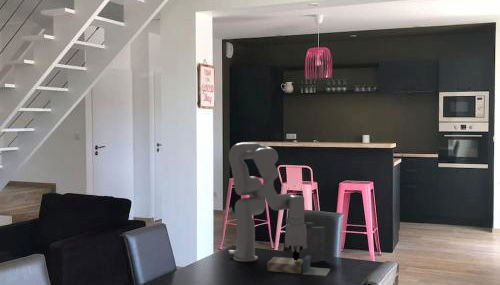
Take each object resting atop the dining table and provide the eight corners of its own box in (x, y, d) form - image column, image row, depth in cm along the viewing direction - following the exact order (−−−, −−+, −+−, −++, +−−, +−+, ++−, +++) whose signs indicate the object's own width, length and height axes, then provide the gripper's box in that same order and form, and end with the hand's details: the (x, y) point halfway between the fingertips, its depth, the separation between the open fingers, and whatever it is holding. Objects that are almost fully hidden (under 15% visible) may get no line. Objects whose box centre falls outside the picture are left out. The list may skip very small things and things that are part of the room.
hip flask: (323, 260, 277) (324, 221, 277) (325, 262, 273) (325, 223, 273) (292, 260, 276) (293, 221, 276) (294, 262, 272) (294, 223, 272)
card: (303, 259, 252) (307, 259, 251) (306, 255, 260) (311, 255, 260) (302, 271, 252) (306, 272, 251) (305, 267, 260) (310, 268, 260)
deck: (267, 270, 255) (267, 262, 255) (273, 264, 267) (273, 256, 267) (300, 273, 250) (300, 265, 250) (305, 267, 262) (305, 259, 262)
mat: (302, 274, 250) (302, 273, 250) (307, 267, 262) (307, 266, 262) (326, 276, 246) (326, 275, 246) (330, 269, 259) (330, 268, 259)
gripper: (279, 221, 255) (278, 260, 256) (310, 223, 251) (309, 262, 251) (283, 219, 263) (282, 257, 263) (313, 221, 258) (313, 259, 258)
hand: (296, 259), depth 257 cm, fingers closed
